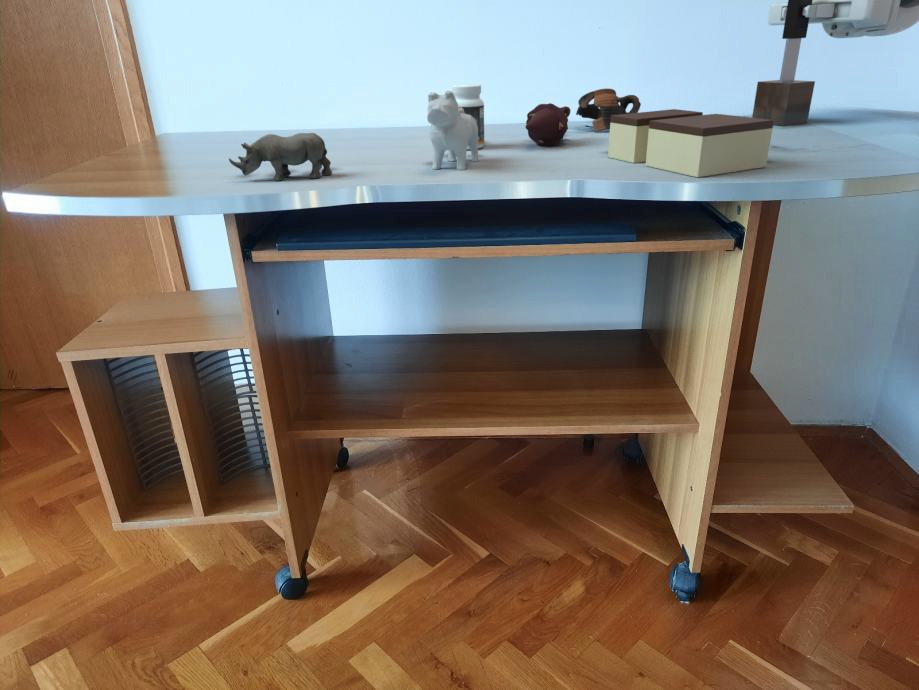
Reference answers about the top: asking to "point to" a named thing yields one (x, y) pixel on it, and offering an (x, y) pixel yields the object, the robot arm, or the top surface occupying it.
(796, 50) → the knife
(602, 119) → the pottery mug
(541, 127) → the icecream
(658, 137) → the cake
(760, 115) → the knife block
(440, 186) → the top surface
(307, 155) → the rhino figurine
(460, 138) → the dog figurine
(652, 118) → the cake slice
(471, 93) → the pill bottle
